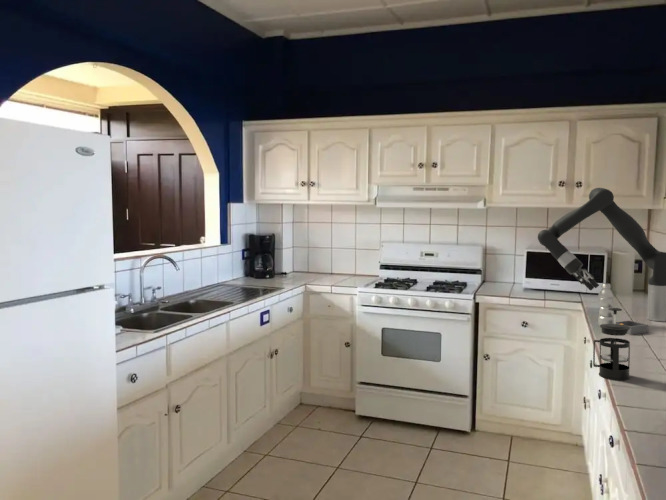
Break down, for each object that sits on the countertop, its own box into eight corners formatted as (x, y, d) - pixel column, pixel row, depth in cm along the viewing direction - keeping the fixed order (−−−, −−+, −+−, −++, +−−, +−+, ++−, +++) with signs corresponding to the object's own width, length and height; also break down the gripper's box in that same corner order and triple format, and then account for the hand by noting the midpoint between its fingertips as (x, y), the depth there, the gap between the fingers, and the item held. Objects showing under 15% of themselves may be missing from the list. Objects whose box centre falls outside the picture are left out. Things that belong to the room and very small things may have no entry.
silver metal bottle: (605, 328, 258) (605, 285, 256) (594, 325, 264) (595, 283, 263) (617, 327, 260) (617, 284, 258) (606, 324, 266) (606, 282, 265)
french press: (630, 373, 191) (631, 306, 189) (634, 381, 182) (635, 311, 180) (592, 370, 195) (593, 305, 193) (594, 378, 186) (594, 309, 184)
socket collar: (628, 328, 258) (628, 319, 257) (647, 332, 248) (648, 323, 248) (612, 330, 254) (612, 321, 254) (630, 334, 245) (630, 325, 244)
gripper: (571, 258, 263) (597, 284, 256) (580, 256, 274) (605, 281, 267) (559, 269, 266) (584, 295, 260) (568, 266, 277) (593, 291, 271)
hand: (595, 288), depth 264 cm, fingers open, 8 cm apart
